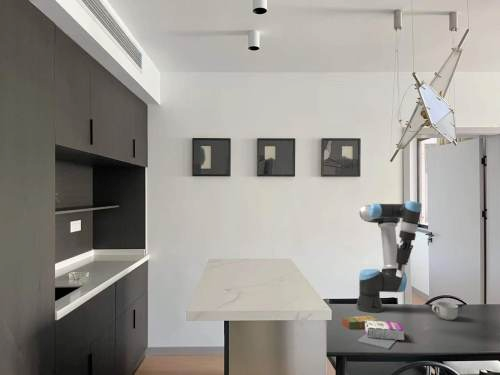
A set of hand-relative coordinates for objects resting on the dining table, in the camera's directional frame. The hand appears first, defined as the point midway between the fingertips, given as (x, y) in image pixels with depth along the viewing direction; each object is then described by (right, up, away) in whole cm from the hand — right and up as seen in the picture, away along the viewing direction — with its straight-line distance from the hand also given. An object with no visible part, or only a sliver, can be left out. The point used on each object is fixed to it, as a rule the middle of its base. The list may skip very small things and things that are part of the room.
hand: (398, 276), depth 187 cm
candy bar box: (-4, -23, -13) cm, 27 cm away
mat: (-17, -26, -17) cm, 35 cm away
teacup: (+32, -28, +17) cm, 45 cm away
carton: (-19, -27, +3) cm, 33 cm away
